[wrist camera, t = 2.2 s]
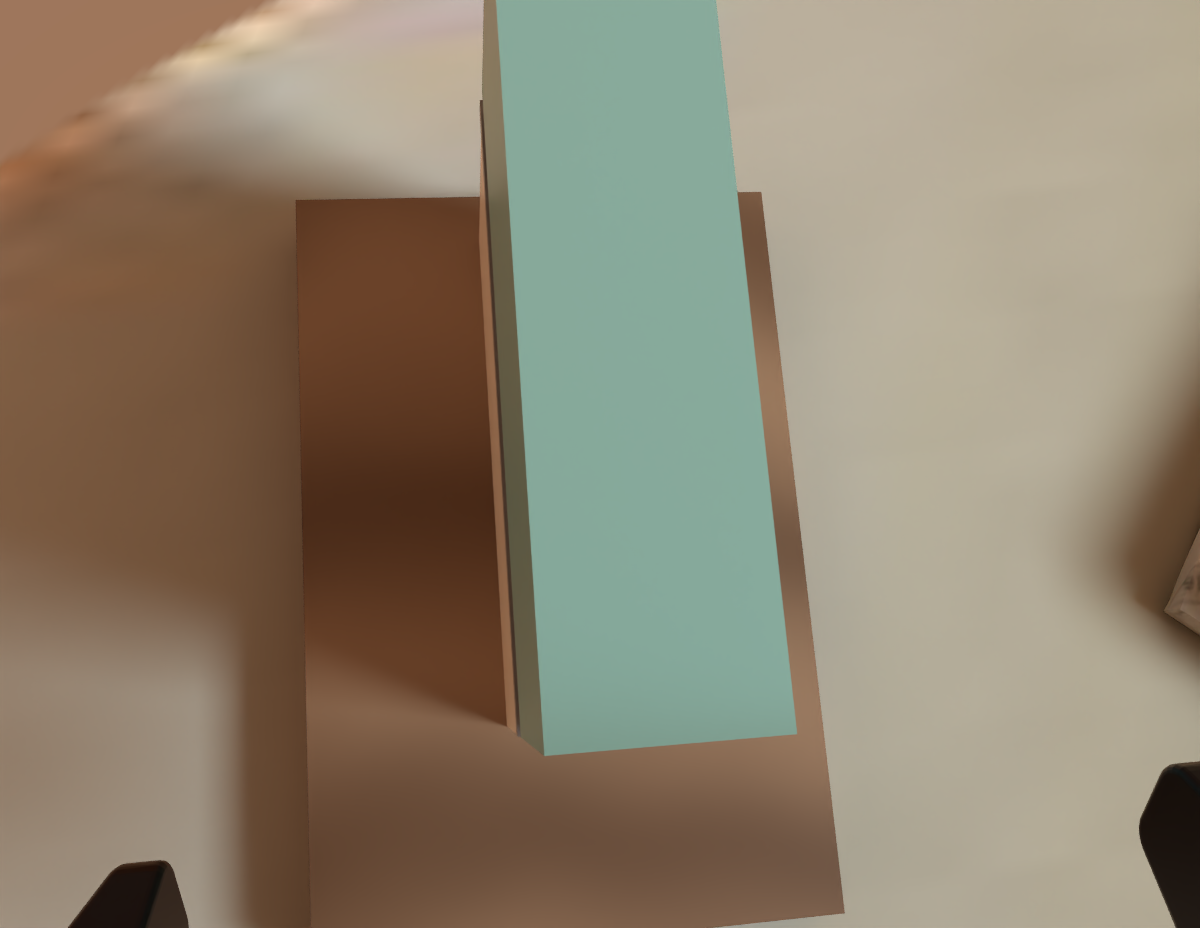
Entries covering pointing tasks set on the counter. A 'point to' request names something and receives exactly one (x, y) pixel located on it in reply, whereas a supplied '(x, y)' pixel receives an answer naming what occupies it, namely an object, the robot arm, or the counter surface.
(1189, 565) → the packaged product
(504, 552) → the beige rectangular block
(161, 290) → the counter surface
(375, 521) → the brown flat block
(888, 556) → the counter surface
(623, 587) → the mint green pillar
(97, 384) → the counter surface
